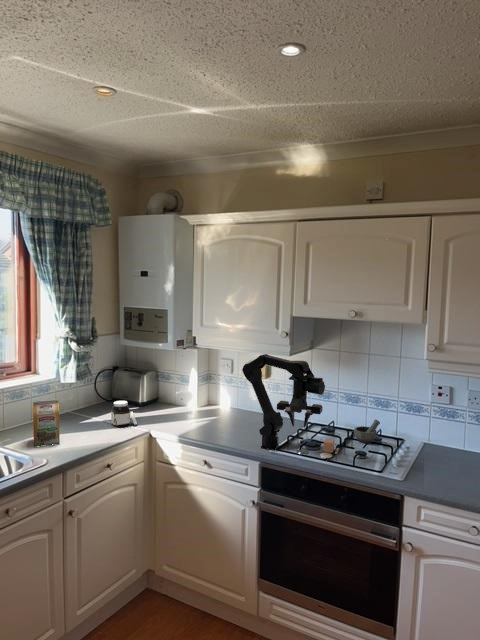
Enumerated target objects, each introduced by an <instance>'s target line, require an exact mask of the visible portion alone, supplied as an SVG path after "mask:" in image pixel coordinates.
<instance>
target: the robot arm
mask: <svg viewBox="0 0 480 640" xmlns="http://www.w3.org/2000/svg"><path fill="white" fill-rule="evenodd" d="M265 366H270V367H273V368H277V369H282V370H285V371H287V372H288V373H289V374H291V375H290V376H289V378H288V380H290V381H293V383H292V384H293V385H292V387H293V389H292V393H293V394H292V398H291V401H288V400H280V401H278V402H277V404H276V410H277V411H278V412H277V411H276V410H275V409H274V407H273V404H272V402H271V399H270V398H269V395H268V391H267V390H266V387H265V385H264V381H263V372H262V371H263V370H262V369H263V368H265ZM242 374H243V375H244V377H245V379H246V380H247V381H248V382H249V383H250V384H251V386H252V388H253V390H254V393H255V397H256V399H257V400H258V403H259V405H260V409H261V411H262V414H263V418H262V423H263V426H262V427H261V428H259V435H261V446H260V448H261V449H264V450H265V449H266V450H270V451H271V450H272V451H275V450H276V449H277V448H278V446H279V436H278V433H279V432H280V431H281V429H282V428H283V426H284V418H283V417H282V413H281V412H280V411H284V413H286V414H287V415H288V417H289V420H290V423H291V425H292V427H293V428H294V427H295V413H297V414H301V413H302V411H305V413H304V422H303V429H306V427H307V425H308V422H309V418H310V417H311V416H313V415H321V414H322V412H323V405H322V404H318V403H313V404H312V405H308V402H307V401H308V400H307V396H308V395H307V394H308V393H309V394H315V395H321V396H322V395H323V394H324V393H325V391H326V385H325V381H324V380H323V377H315V375H314V373H313V372H312V369H311V368H310V365H309V362H308V361H306V360H289V359H286V358H282V357H277V356H273V355H269V354H267V353H265V354H259V356H258V357H256V358H255V359H253V360H252V361H250V362H248V363H245V364H244V365H243V366H242Z"/></svg>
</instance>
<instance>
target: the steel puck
mask: <svg viewBox="0 0 480 640" xmlns="http://www.w3.org/2000/svg"><path fill="white" fill-rule="evenodd" d="M296 453H297V454H299V455H304V456H305V455H308V454H310V453H309V451H308V450H307V449H297V451H296Z"/></svg>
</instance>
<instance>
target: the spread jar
mask: <svg viewBox="0 0 480 640" xmlns="http://www.w3.org/2000/svg"><path fill="white" fill-rule="evenodd" d="M110 410H111V411H110V412H111V413H110V417H111V418H110V420H111V423H112V426H113V427H115V428H124V427H127V426H129V425H130V424H131V419H132V422H133V424H134V426H136V425H137V424H138V423H137V420H136V417H135V414H134V412H133V411H131V409H130V406H128V401H127V400H116V401H114V402H113V406H112V407H111V409H110Z"/></svg>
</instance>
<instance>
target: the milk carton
mask: <svg viewBox="0 0 480 640" xmlns="http://www.w3.org/2000/svg"><path fill="white" fill-rule="evenodd" d="M59 407H60V405H59V399H49V400H48V399H47V400H37V401H36V400H35V401H34V400H33V401H32V421H33V424H32V425H33V429H32V430H33V447H34V446H40V447H42V446H41V445H49V446H53V445H52V444H58V445H61V444H60V443H61V442H60V441H61V440H60V408H59Z"/></svg>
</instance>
